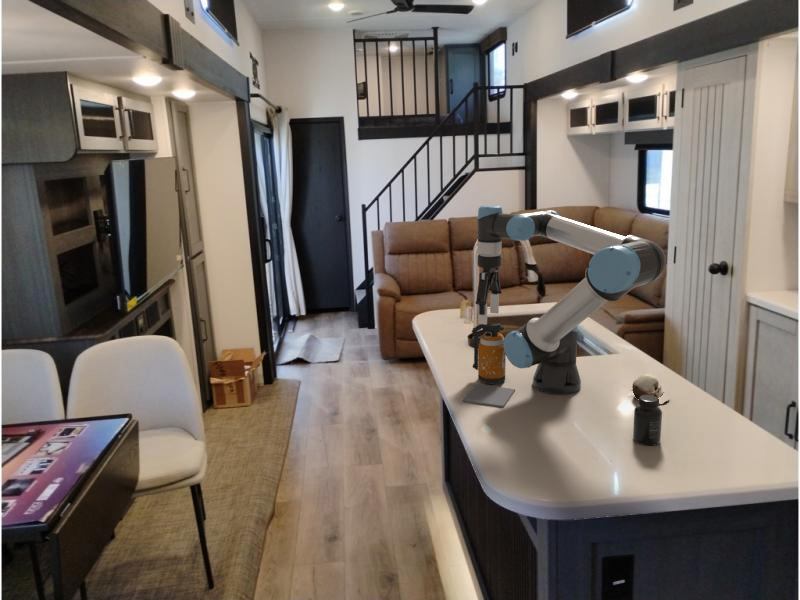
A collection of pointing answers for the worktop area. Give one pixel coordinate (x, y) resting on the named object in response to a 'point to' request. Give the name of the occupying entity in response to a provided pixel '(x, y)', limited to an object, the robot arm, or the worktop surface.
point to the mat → (489, 395)
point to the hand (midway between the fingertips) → (488, 318)
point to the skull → (647, 386)
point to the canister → (489, 353)
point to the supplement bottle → (647, 421)
